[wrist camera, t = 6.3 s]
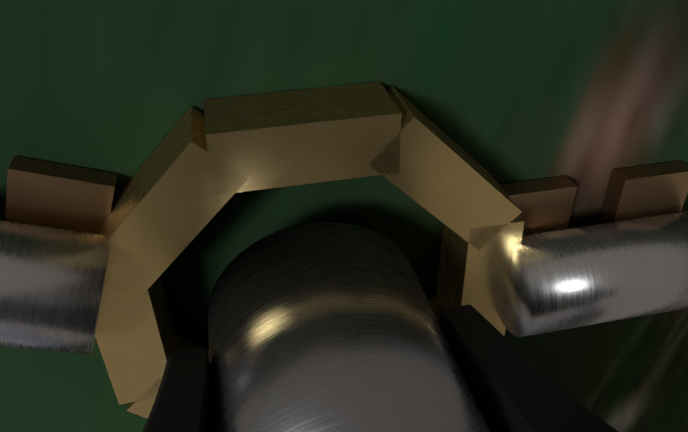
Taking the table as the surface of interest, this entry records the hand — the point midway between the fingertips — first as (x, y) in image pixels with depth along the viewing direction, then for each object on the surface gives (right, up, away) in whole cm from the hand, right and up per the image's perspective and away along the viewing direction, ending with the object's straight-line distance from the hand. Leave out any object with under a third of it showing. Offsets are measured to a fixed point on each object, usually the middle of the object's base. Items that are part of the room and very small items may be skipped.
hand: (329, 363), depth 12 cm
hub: (0, +1, +1) cm, 2 cm away
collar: (-1, +2, +2) cm, 3 cm away
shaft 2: (+6, +3, +3) cm, 7 cm away
